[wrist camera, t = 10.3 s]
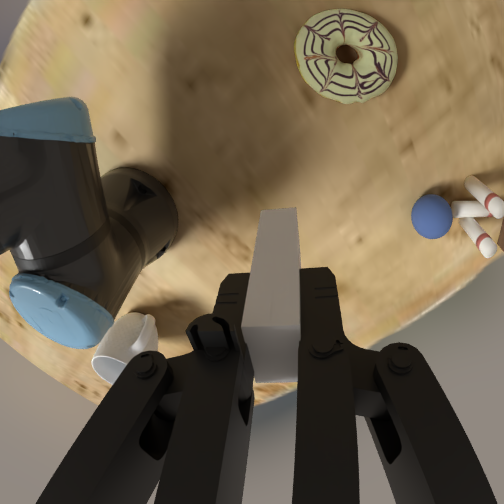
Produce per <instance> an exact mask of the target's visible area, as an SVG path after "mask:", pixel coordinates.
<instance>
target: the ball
mask: <svg viewBox="0 0 504 504" xmlns="http://www.w3.org/2000/svg"><path fill="white" fill-rule="evenodd" d="M411 219H412V223H413V226H414V228H415V229H416V231H417V232H418V233H419V234H420V235H421V236H423V237H425V238H428V239H437V238H440V237H442V236H444V235H445V234H446V233H447V232H448V231H449V229H450V227H451V225H452V220H453V215H452V210H451V208H450V206H449V204H448V203H447V201H446V200H445V199H443V198H442V197H440V196H438V195H434V194H428V195H425V196H422V197H421V198H419V199H418V200H417V201H416V203H415V204H414V206H413V208H412V213H411Z"/></svg>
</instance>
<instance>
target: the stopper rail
mask: <svg viewBox="0 0 504 504" xmlns="http://www.w3.org/2000/svg"><path fill="white" fill-rule="evenodd" d="M497 244H498V245H499V246H500V248H501V249H502V250H503V251H504V219H503V223H502V227H501V231H500V235H499V239H498V243H497Z"/></svg>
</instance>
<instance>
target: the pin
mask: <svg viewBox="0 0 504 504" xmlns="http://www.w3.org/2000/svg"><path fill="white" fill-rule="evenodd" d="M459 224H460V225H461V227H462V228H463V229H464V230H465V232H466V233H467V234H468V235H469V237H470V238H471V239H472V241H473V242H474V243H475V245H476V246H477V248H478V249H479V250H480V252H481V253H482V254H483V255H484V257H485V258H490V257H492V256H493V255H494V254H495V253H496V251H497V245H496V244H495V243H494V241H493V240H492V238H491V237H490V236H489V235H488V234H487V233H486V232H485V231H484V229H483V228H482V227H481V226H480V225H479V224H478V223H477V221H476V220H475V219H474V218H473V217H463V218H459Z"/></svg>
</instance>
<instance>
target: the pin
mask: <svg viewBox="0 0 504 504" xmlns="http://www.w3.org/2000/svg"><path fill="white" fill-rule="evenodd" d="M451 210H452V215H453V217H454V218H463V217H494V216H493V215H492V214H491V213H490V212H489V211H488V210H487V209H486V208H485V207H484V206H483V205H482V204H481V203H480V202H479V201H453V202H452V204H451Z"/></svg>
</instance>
